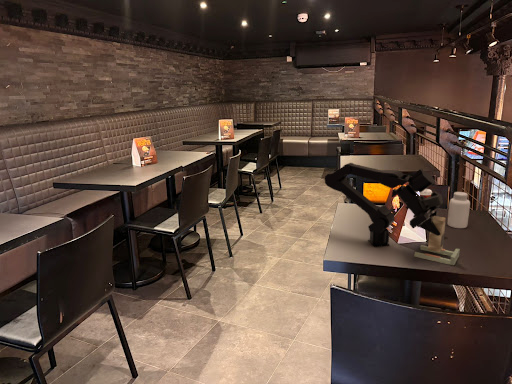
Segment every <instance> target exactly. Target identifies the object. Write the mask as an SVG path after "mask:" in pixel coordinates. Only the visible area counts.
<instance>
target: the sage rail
mask: <svg viewBox="0 0 512 384" xmlns="http://www.w3.org/2000/svg"><path fill="white" fill-rule="evenodd" d="M419 250H421V251H425V252H430V253H431V254H430V253H422V252H418V251H414V255H413V257H414V258H415V257H416V258H420V259H425V260H429V261H431V262H432V261H433V262H437V263H441V264H444V265H445V264H446V265H450V266H455V265H456V262H457V261H458V259H459V258H460V250H461V249H460V248H455V250H454V251H453V250H447V249H445V248H442V250H441V251H440V252H436V251H432V250H428V246H427V245H424V244H423V245H422V244H421V245H420V249H419ZM432 253H435V254H439V255H434V254H432ZM440 255H445V256H448V257H450V259H449V258H445V257H441V256H440Z"/></svg>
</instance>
